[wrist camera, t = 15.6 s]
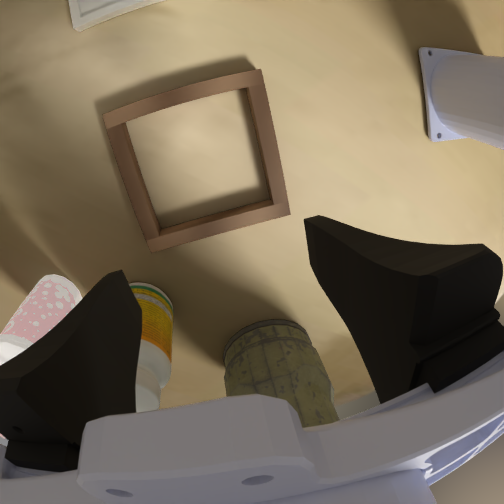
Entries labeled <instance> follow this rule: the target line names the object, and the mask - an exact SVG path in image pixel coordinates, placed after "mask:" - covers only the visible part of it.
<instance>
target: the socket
mask: <svg viewBox="0 0 504 504" xmlns="http://www.w3.org/2000/svg"><path fill="white" fill-rule="evenodd" d="M241 88H246V92H247V96H248V100H249V105H250V109H251V113H252V118H253V122H254V127H255V131H256V136H257V140H258V145H259V149H260V154H261V158H262V163H263V168H264V172H265V177H266V182H267V187H268V191H269V196H270V199H269V200H265V201H261V202H258V203H254V204H250V205H246V206H242V207H239V208H235V209H231V210H228V211H224V212H220V213H217V214H213V215H210V216H206V217H202V218H199V219H195V220H192V221H188V222H185V223H182V224H178V225H175V226H171V227H168V228H165V229H161V228H160V225H159V223H158V220H157V217H156V214H155V212H154V209H153V206H152V203H151V200H150V197H149V195H148V192H147V189H146V186H145V183H144V180H143V177H142V174H141V171H140V168H139V165H138V162H137V159H136V156H135V153H134V149H133V146H132V143H131V140H130V136H129V133H128V130H127V126H126V123H125V122H127V121H130V120H132V119H135V118H138V117H141V116H144V115H147V114H150V113H153V112H156V111H159V110H162V109H165V108H168V107H171V106H175V105H178V104H182V103H185V102H188V101H192V100H196V99H199V98H203V97H207V96H211V95H215V94H219V93H223V92H227V91H232V90H236V89H241ZM102 116H103V120H104V123H105V126H106V130H107V133H108V136H109V139H110V142H111V146H112V149H113V152H114V155H115V158H116V161H117V164H118V167H119V170H120V173H121V176H122V179H123V181H124V184H125V187H126V190H127V193H128V195H129V198H130V201H131V203H132V206H133V209H134V211H135V214H136V217H137V219H138V222H139V224H140V227H141V230H142V232H143V235H144V237H145V240H146V242H147V244H148V247H149V249H150V252H151V253H153V252H157V251H160V250H164V249H167V248H171V247H174V246H178V245H181V244H185V243H188V242H192V241H195V240H199V239H202V238H206V237H209V236H213V235H217V234H220V233H224V232H228V231H231V230H235V229H238V228H242V227H246V226H250V225H253V224H257V223H261V222H264V221H268V220H272V219H276V218H280V217H283V216H287V215H291V214H290V208H289V203H288V197H287V192H286V186H285V181H284V176H283V171H282V165H281V160H280V155H279V150H278V145H277V140H276V135H275V130H274V126H273V121H272V116H271V111H270V107H269V102H268V98H267V93H266V89H265V84H264V80H263V75H262V71H261V69H257V70H251V71H246V72H241V73H236V74H232V75H227V76H223V77H218V78H214V79H210V80H206V81H202V82H198V83H195V84H191V85H187V86H184V87H180V88H177V89H173V90H170V91H167V92H164V93H160V94H157V95H154V96H151V97H148V98H145V99H142V100H139V101H137V102H134V103H131V104H128V105H126V106H123V107H120V108H118V109H115V110H113V111H110V112H108V113H105V114H103V115H102Z"/></svg>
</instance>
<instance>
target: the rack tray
mask: <svg viewBox="0 0 504 504" xmlns="http://www.w3.org/2000/svg"><path fill="white" fill-rule="evenodd" d="M68 1H69V7H70V13H71V19H72V24H73V29H74V30H76V31H78V32H81V31H83V30H85V29H88V28H90V27H92V26H94V25H97V24H99V23H102V22H104V21H106V20H109V19H111V18H114V17H116V16H119V15H122V14H125V13H127V12H130V11H133V10H136V9H139V8H142V7H145V6H148V5H151V4H154V3H158V2H161V1H165V0H68Z"/></svg>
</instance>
